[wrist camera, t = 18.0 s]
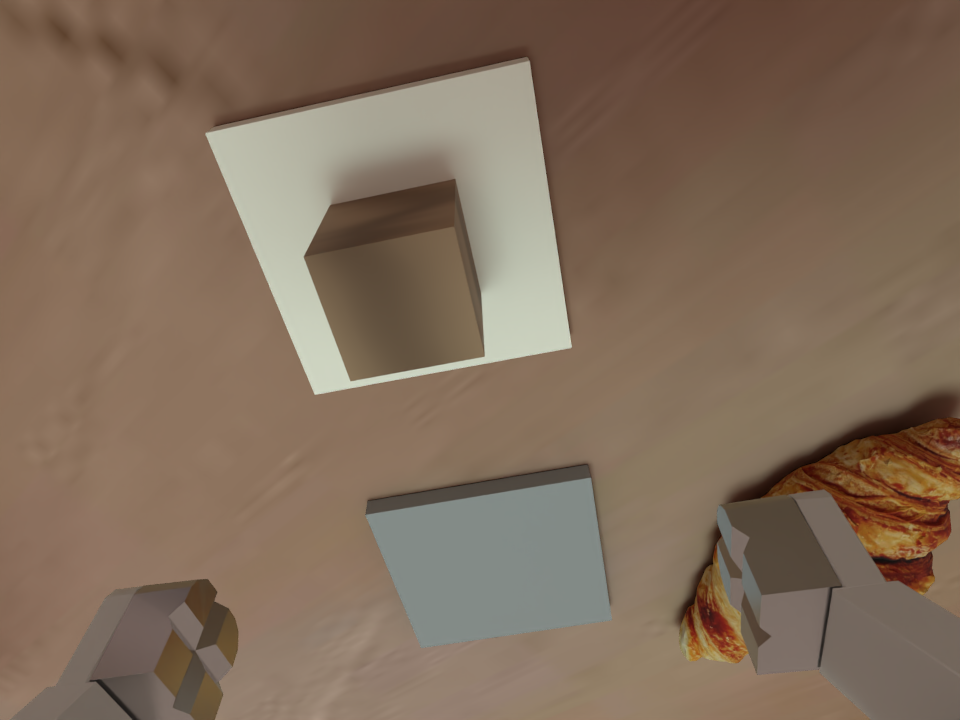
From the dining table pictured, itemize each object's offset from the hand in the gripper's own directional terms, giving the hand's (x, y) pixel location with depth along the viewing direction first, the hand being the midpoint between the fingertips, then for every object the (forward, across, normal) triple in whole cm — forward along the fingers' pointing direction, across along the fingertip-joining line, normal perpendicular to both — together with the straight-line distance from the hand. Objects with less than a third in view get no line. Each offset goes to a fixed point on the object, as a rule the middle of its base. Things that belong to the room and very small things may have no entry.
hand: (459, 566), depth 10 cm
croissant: (+19, -14, +23) cm, 33 cm away
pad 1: (+19, +3, +2) cm, 19 cm away
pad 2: (+18, +3, +22) cm, 29 cm away
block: (+18, +3, +2) cm, 18 cm away
